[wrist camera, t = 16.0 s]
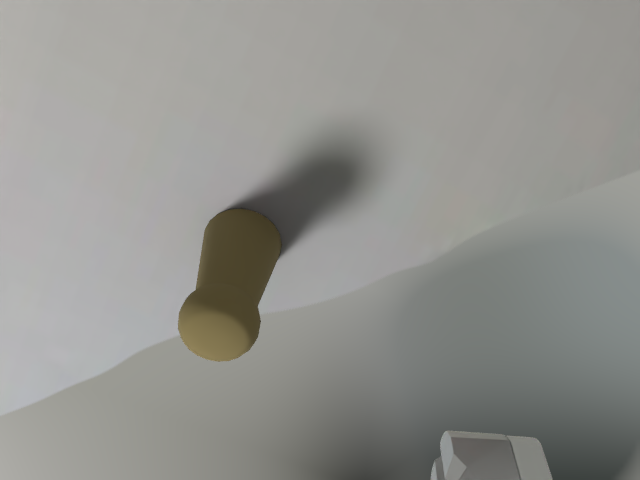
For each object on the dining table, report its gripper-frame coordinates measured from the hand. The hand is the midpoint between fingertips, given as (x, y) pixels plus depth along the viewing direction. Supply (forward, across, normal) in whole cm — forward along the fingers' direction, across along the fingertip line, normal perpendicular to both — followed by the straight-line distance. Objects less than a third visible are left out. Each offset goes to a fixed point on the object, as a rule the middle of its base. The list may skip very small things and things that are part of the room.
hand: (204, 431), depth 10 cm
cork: (+31, +4, +18) cm, 36 cm away
